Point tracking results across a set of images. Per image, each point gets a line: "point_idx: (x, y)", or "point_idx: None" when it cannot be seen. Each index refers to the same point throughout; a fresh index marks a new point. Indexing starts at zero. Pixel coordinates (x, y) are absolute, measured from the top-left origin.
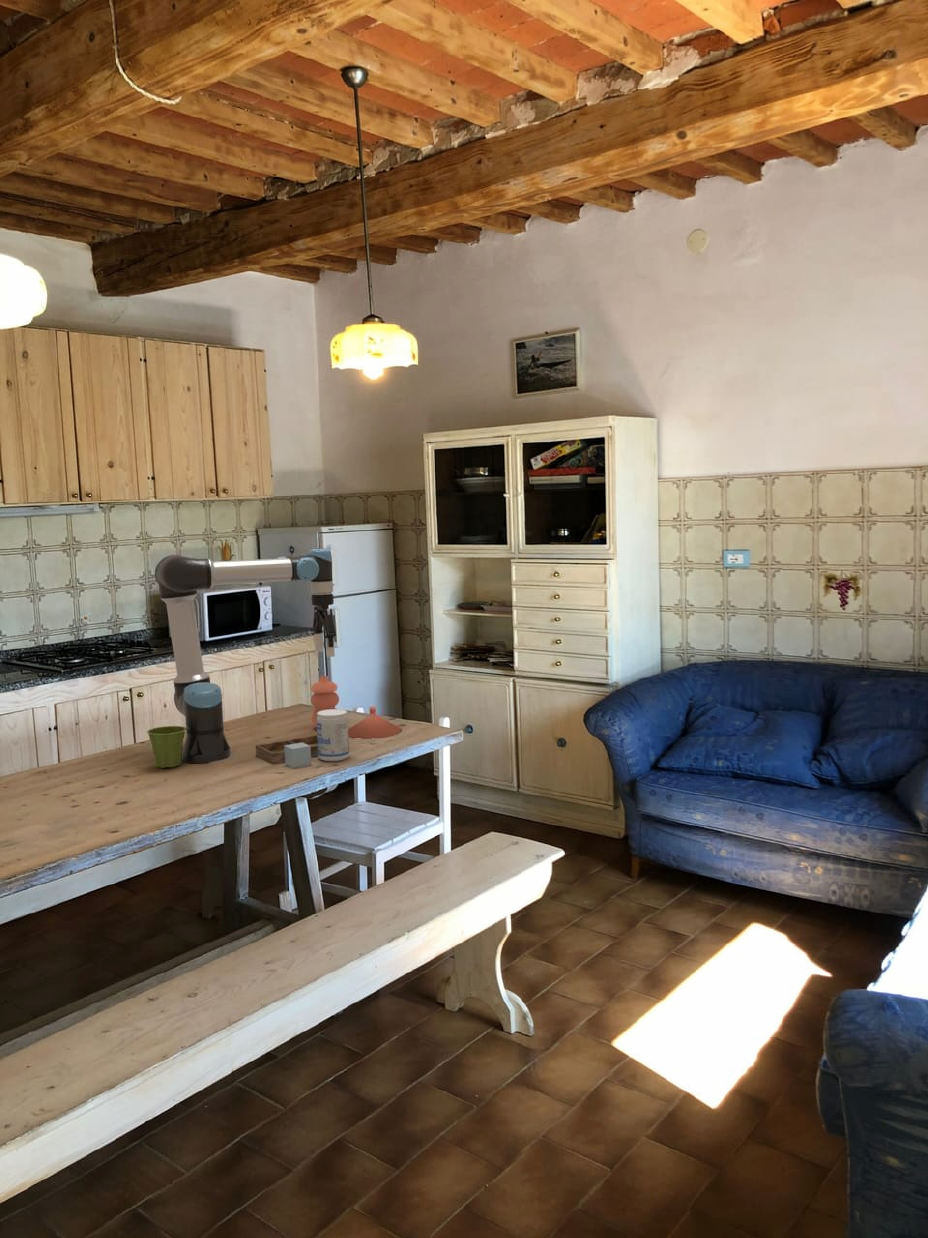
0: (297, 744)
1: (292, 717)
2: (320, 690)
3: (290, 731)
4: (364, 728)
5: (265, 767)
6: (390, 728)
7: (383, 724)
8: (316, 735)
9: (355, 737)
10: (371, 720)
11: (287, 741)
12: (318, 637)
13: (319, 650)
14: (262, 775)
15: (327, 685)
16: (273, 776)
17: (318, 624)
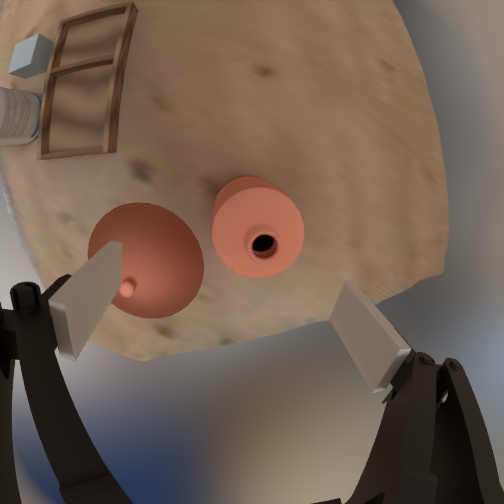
0: (27, 54)
1: (393, 211)
2: (226, 202)
3: (282, 133)
4: (114, 239)
5: (65, 16)
6: None
7: None
8: (107, 118)
9: (115, 211)
10: None
11: (113, 54)
12: (376, 351)
13: (340, 304)
14: (40, 12)
15: (221, 232)
16: (27, 25)
17: (395, 431)
